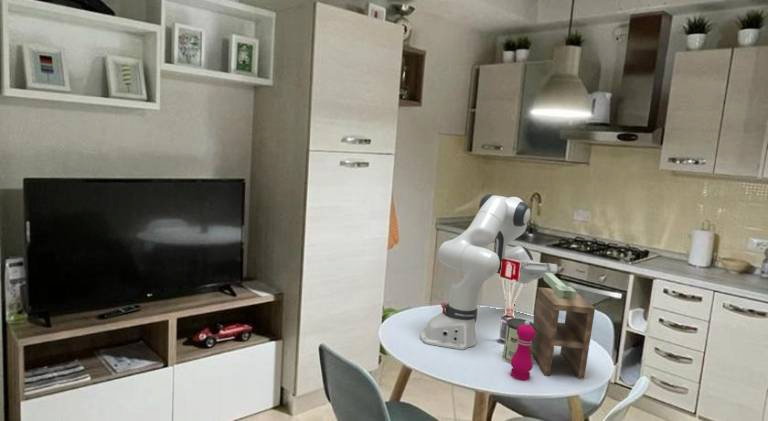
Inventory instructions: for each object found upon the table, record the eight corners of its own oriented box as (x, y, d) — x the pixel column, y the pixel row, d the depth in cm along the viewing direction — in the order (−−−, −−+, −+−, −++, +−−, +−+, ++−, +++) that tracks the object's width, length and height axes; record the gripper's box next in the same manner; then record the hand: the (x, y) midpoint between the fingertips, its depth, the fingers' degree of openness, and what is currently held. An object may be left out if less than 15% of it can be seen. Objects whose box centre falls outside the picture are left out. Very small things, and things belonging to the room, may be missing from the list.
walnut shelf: (544, 375, 180) (554, 304, 177) (529, 351, 200) (538, 287, 196) (584, 379, 180) (595, 308, 176) (565, 354, 200) (574, 290, 196)
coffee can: (529, 355, 196) (534, 320, 194) (531, 367, 186) (536, 330, 184) (501, 351, 198) (506, 316, 196) (502, 362, 188) (507, 325, 186)
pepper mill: (533, 381, 175) (541, 325, 172) (513, 380, 175) (520, 324, 172) (526, 371, 182) (533, 317, 179) (506, 370, 182) (513, 316, 179)
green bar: (558, 298, 184) (559, 290, 184) (539, 279, 208) (540, 272, 208) (575, 299, 184) (576, 291, 184) (554, 280, 208) (555, 273, 208)
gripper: (507, 261, 240) (514, 255, 227) (552, 265, 239) (561, 258, 226) (507, 275, 238) (513, 269, 225) (552, 278, 237) (561, 273, 224)
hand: (538, 264), depth 225 cm, fingers open, 8 cm apart
